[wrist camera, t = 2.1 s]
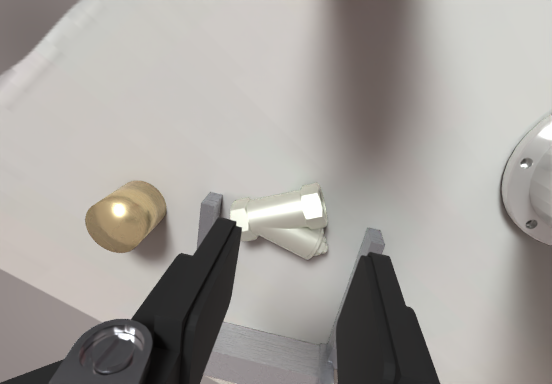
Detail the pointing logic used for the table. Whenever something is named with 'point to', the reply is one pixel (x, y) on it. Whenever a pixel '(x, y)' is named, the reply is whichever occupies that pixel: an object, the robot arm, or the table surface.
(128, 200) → the cylinder
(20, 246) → the table surface
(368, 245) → the pipe jig
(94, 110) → the table surface
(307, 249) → the pipe fitting
